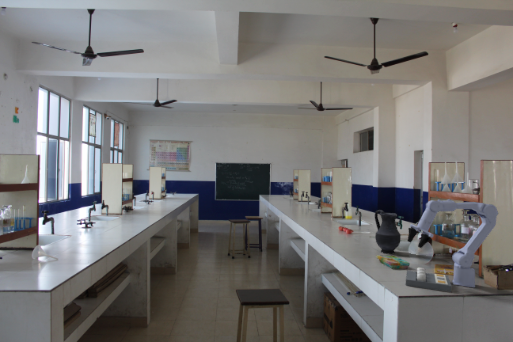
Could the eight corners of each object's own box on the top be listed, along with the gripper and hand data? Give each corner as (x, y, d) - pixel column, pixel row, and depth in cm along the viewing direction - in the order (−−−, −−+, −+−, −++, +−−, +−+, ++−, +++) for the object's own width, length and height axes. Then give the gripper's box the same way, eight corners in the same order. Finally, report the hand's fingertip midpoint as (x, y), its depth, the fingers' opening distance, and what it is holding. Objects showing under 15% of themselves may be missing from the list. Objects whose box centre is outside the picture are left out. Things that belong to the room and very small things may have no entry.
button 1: (425, 275, 190) (425, 268, 190) (425, 277, 186) (425, 269, 186) (416, 274, 191) (417, 267, 191) (416, 276, 188) (417, 268, 188)
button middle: (425, 278, 184) (425, 270, 184) (425, 280, 180) (425, 272, 180) (416, 277, 185) (417, 269, 186) (416, 279, 182) (417, 271, 182)
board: (448, 281, 186) (448, 274, 187) (451, 292, 168) (451, 284, 168) (406, 275, 195) (407, 269, 195) (405, 285, 177) (405, 278, 177)
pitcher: (388, 255, 245) (389, 212, 246) (366, 249, 264) (367, 209, 264) (405, 253, 254) (406, 212, 254) (382, 248, 272) (383, 209, 272)
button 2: (425, 281, 178) (425, 273, 178) (425, 283, 174) (425, 275, 174) (416, 280, 180) (417, 272, 180) (416, 282, 176) (417, 274, 176)
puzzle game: (390, 261, 209) (376, 254, 229) (390, 269, 209) (376, 261, 229) (409, 261, 210) (393, 254, 230) (409, 269, 210) (393, 261, 230)
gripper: (410, 214, 191) (399, 237, 191) (431, 223, 177) (419, 247, 178) (419, 219, 193) (408, 241, 194) (440, 228, 180) (428, 252, 180)
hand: (414, 244), depth 186 cm, fingers open, 7 cm apart
